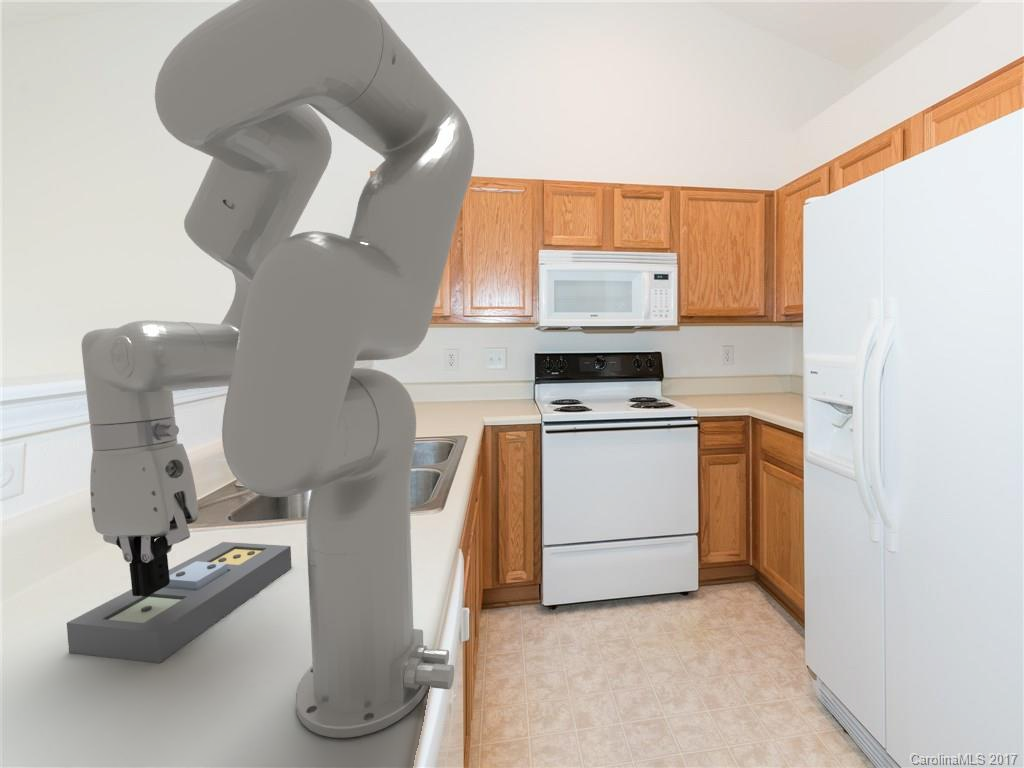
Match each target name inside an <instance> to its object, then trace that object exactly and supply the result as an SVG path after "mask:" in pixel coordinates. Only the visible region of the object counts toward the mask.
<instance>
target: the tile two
mask: <svg viewBox="0 0 1024 768" xmlns="http://www.w3.org/2000/svg"><path fill="white" fill-rule="evenodd" d="M227 572H228V564H227V563H213V562H199V561H196V562H194V563H192V564H190V565H188V566H186V567H185V568H183V569H181V570H179V571H177V572H175V573H173V574H171V575H169V578H170V583H169V584H168V585H167V586H165V587H164V588H173V589H185V590H199V589H200V588H202V587H204V586H205V585H207V584H209V583H210V582H212V581H214V580H215V579H217V578H218V577H220V576H222V575H223V574H225V573H227Z"/></svg>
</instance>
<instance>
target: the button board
mask: <svg viewBox="0 0 1024 768" xmlns="http://www.w3.org/2000/svg"><path fill="white" fill-rule="evenodd" d="M291 547H292V546H291V545H280V544H279V545H278V544H265V543H263V544H262V543H250V542H249V543H248V542H247V543H246V542H232V541H231V542H230V541H229V542H228V541H221V542H219V543H218V544H217V545H214V546H212V547H211V548H208V549H206V550H205V551H203V552H200V553H199V554H197V555H195V556H193V557H191V558H189V559H188V560H185V561H184V562H182V563H180V564H178V565H176V566H173V567H172V568H170V569H169V575H171V574H173V573H175V572H177V571H179V570H181V569H183V568H185V567H186V566H188V565H190V564H192V563H194V562H196V561H199V562H213V561H215V560H216V559H218V558H220V557H222V556H224V555H225V554H227V553H229V552H231V551H233V550H234V549H242V550H258V551H261V552H260V553H258V554H256V555H255V556H253V557H251V558H250V559H248V560H246V561H245V562H243V563H242V564H240V565H233V564H228V572H227V573H225V574H223V575H222V576H220V577H218V578H217V579H215V580H214V581H212V582H210V583H209V584H207V585H205V586H204V587H202V588H200V589H199V590H185V589H173V588H162V589H160V590H158V591H156V592H154V593H153V594H151V595H149V596H147V597H144V596H133V594H132V588H131V589H129V590H128V591H125V592H124V593H121V594H119V595H118V596H116V597H113V598H112V599H110V600H108V601H106V602H104V603H102V604H100V605H98V606H96V607H94V608H92V609H91V610H89V611H87V612H85V613H83V614H81V615H79V616H77V617H75V618H73V619H71V620H69V621H67V622H66V632H67V644H68V645H67V646H68V653H71V654H77V655H78V654H79V655H87V656H95V657H104V658H105V657H106V658H112V659H120V660H121V659H122V660H131V661H139V662H145V663H146V662H148V663H156V664H162V662H164V661H165V660H167V659H168V658H169V657H171V656H172V655H174V654H175V653H176V652H178V651H179V650H180V649H182V648H183V647H185V646H186V645H187V644H188V643H190V642H191V641H193V640H195V639H196V638H197V637H198V636H200V635H201V634H202V633H204V632H205V631H207V630H208V629H209V628H211V627H213V625H215V624H216V623H217V622H219V621H220V620H222V619H223V618H224V617H227V615H229V614H230V613H231V612H233V611H234V610H235V609H237V608H238V607H240V606H241V605H242V604H244V603H245V602H246V601H248V600H249V599H251V598H252V597H253V596H254V595H256V594H257V593H259V592H260V591H261V590H263V589H264V588H265V587H267V586H269V585H270V584H271V583H273V582H274V581H275V580H277V579H278V578H280V577H281V576H282V575H284V574H286V572H288V571H289V570H291V569H292V568H293V567H292V565H293V564H292V551H291V550H292V548H291ZM148 597H156V598H168V599H180V600H181V601H179V602H177V603H176V604H174V605H172V606H171V607H169V608H167V609H166V610H164V611H162V612H161V613H159V614H158V615H156V616H154V617H153V618H151V619H149V620H148V621H146V622H144V623H138V622H128V621H118V620H108V619H110V618H112V617H114V616H115V615H117V614H119V613H121V612H123V611H124V610H126V609H128V608H130V607H132V606H133V605H135V604H137V603H139V602H141V601H142V600H144V599H146V598H148Z"/></svg>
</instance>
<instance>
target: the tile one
mask: <svg viewBox="0 0 1024 768" xmlns="http://www.w3.org/2000/svg"><path fill="white" fill-rule="evenodd" d="M179 601H181V600H180V599H168V598H156V597H148V598H146V599H144V600H142V601H141V602H139V603H137V604H135V605H133V606H132V607H130V608H128V609H126V610H124V611H123V612H121V613H119V614H117V615H115V616H114V617H112V618H110V619H108V620H118V621H128V622H138V623H144V622H146V621H148V620H149V619H151V618H153V617H154V616H156V615H158V614H159V613H161V612H162V611H164V610H166V609H167V608H169V607H171V606H172V605H174V604H176V603H177V602H179Z"/></svg>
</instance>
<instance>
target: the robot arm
mask: <svg viewBox="0 0 1024 768" xmlns="http://www.w3.org/2000/svg"><path fill="white" fill-rule="evenodd" d="M154 102H155V109H156V112H157V115H158V118H159V120H160V122H161V124H162V125H163V128H165V130H166V131H167V132H168V133H169V134H170V135H171V136H172V137H173V138H174V139H176V140H177V141H179V142H180V143H182V144H184V145H186V146H188V147H190V148H192V149H194V150H197V151H199V152H201V153H203V154H206V155H208V156H210V157H213V158H212V159H211V162H210V164H209V166H208V168H207V171H205V175H204V177H203V178H202V182H201V183H200V186H199V188H198V190H197V192H196V194H195V196H194V197H193V199H192V202H191V205H190V207H189V209H188V211H187V212H186V214H185V216H184V220H183V227H184V231H185V233H186V234H187V236H188V238H189V239H190V240H191V241H192V242H193V243H194V244H195V246H196V247H198V248H199V249H201V250H202V252H204V253H205V254H207V255H208V256H209V257H210V258H212V259H213V260H214V261H216V262H218V263H219V264H221V265H222V266H224V267H225V268H227V269H228V270H230V271H231V272H232V275H233V276H234V277H233V278H234V282H235V291H234V296H233V300H232V302H231V304H230V307H229V309H228V311H227V312H226V314H225V316H224V318H223V319H222V321H221V323H203V322H193V321H192V322H191V321H190V322H189V321H167V320H165V321H164V320H137V321H132V322H128V323H126V324H123V325H121V326H119V327H114V328H110V327H109V328H100V329H94V330H91V331H88V332H87V333H85V335H83V338H82V340H81V355H82V364H83V365H82V366H83V373H84V383H85V391H86V402H87V411H88V419H89V429H90V437H91V446H92V455H91V456H92V457H91V462H90V463H91V464H90V476H89V477H90V478H89V479H90V481H89V482H90V483H89V484H90V485H89V487H90V488H89V491H90V493H89V494H90V508H91V509H90V510H91V517H92V523H93V526H94V529H95V531H96V532H97V533H99V534H100V535H102V539H103V541H104V542H105V543H109V544H112V545H116V546H117V547H118V548H119V549H120V550H121V551H122V556H123V560H124V561H125V562H126V563H129V565H128V566H129V573H130V582H131V583H130V584H131V589H132V594H133V596H144V597H147V596H149V595H151V594H153V593H154V592H156V591H158V590H160V589H162V588H164V587H165V586H167V585H168V584H169V583H170V578H169V570H170V569H169V559H168V554H169V553H171V551H172V547H173V545H175V544H179V543H181V542H183V541H185V540H188V539H189V538H191V532H190V528H189V526H188V525H190V524H193V523H195V522H197V520H198V519H199V505H198V497H197V490H196V484H195V481H194V480H195V479H194V475H193V470H192V467H191V463H190V459H189V456H188V454H187V451H186V448H185V447H184V446H185V445H184V444H183V443H178V434H180V427H179V426H178V425H176V423H177V422H176V417H175V415H176V414H175V404H174V395H173V392H177V391H186V390H196V389H206V388H219V387H227V393H226V397H225V398H226V399H225V404H224V407H223V409H224V410H223V415H222V427H221V434H222V435H221V437H222V438H221V439H222V448H223V453H224V457H225V460H226V463H227V465H228V467H229V470H230V471H231V473H232V475H233V477H234V478H236V480H237V482H239V483H240V484H241V485H242V486H243V487H244V488H245V489H247V490H249V491H251V492H252V493H254V494H257V495H260V496H264V497H270V498H285V497H286V498H287V497H292V496H296V495H300V494H303V493H306V492H309V491H310V496H309V499H308V505H307V512H306V525H305V526H306V527H305V529H306V552H307V553H306V554H307V556H306V558H307V572H308V573H307V575H308V596H309V598H308V599H309V614H310V615H309V617H310V618H309V619H310V620H309V621H310V637H311V660H312V665H311V666H310V667H309V668H308V670H307V671H306V672H304V674H303V676H302V677H301V679H300V682H299V684H298V686H297V689H296V692H295V707H296V708H295V709H296V714H297V715H296V716H297V717H298V718H299V720H300V722H301V724H303V726H304V727H306V728H307V729H308V730H310V731H311V732H313V733H315V734H317V735H320V736H325V737H329V738H338V739H339V738H340V739H341V738H342V739H346V738H355V737H362V736H365V735H368V734H373V733H375V732H378V731H381V730H383V729H386V728H388V727H389V726H391V725H393V724H394V723H396V722H398V721H400V720H401V719H403V718H404V717H405V716H407V714H410V712H412V710H413V709H414V708H415V707H416V706H417V705H418V704H420V702H421V700H422V699H423V698H424V696H425V694H426V693H427V690H428V688H429V687H430V688H431V689H432V688H434V689H443V690H451V688H452V686H453V683H454V677H455V666H454V665H453V664H449V660H450V650H448V649H439V648H436V649H431V648H428V646H427V645H424V630H423V629H419V628H417V629H416V628H414V605H413V604H414V603H413V600H414V599H413V598H414V597H413V574H412V573H413V571H412V570H413V569H412V568H413V567H412V544H411V543H412V539H411V537H412V536H411V526H412V525H411V480H412V479H411V478H412V477H411V475H412V466H413V465H412V464H413V457H414V451H415V444H416V436H417V414H416V409H415V406H414V402H413V399H412V397H411V395H410V393H409V392H408V389H407V388H406V387H405V386H404V385H403V383H401V382H400V381H399V380H398V379H397V378H396V377H394V376H392V375H391V374H388V373H386V372H384V371H382V370H381V371H380V370H377V369H372V368H363V367H355V365H356V362H358V361H360V362H361V361H362V362H363V361H383V360H385V361H386V360H393V359H397V358H402V357H406V356H408V355H409V354H412V353H413V352H415V351H416V350H417V349H418V348H419V347H420V345H422V343H423V341H424V340H425V338H426V336H427V333H428V331H429V327H430V325H431V321H432V317H433V315H434V310H435V306H436V302H437V298H438V294H439V291H440V288H441V283H442V280H443V276H444V273H445V269H446V265H447V262H448V258H449V255H450V251H451V246H452V243H453V237H454V234H455V230H456V227H457V222H458V219H459V216H460V213H461V210H462V206H463V203H464V200H465V197H466V194H467V191H468V189H469V184H470V181H471V177H472V174H473V170H474V162H475V161H474V160H475V144H474V137H473V133H472V130H471V128H470V125H469V122H468V120H467V118H466V117H465V114H464V113H463V111H462V110H461V109H460V107H459V106H458V105H457V104H456V103H455V101H454V100H453V99H452V97H451V96H449V94H448V93H447V92H446V91H445V90H444V88H442V86H440V84H439V83H438V82H437V81H436V80H435V78H434V77H433V76H432V75H431V74H430V73H429V72H428V70H427V69H426V68H425V66H424V65H423V64H422V62H421V61H419V59H418V58H417V56H415V54H414V53H413V52H412V50H411V49H410V48H409V47H408V46H407V44H405V42H404V41H403V39H401V38H400V36H399V35H398V34H397V32H395V30H394V29H393V28H392V27H391V25H390V24H389V23H388V21H387V20H386V19H385V18H384V17H383V15H382V14H381V13H380V11H379V10H378V9H377V8H376V6H375V5H374V4H373V3H372V2H371V0H237V1H236V2H233V3H232V4H230V5H229V6H227V7H225V8H223V9H222V10H220V11H218V12H217V13H215V14H214V15H212V16H210V17H209V18H208V19H206V20H205V21H203V22H202V23H200V24H199V25H198V26H196V28H194V29H193V30H191V31H190V32H189V33H188V34H186V36H184V37H183V38H182V39H181V40H180V41H179V42H178V43H177V44H176V46H174V48H173V49H171V52H170V53H168V56H167V57H166V58H165V60H164V62H163V64H162V66H161V68H160V69H159V72H158V75H157V78H156V81H155V86H154ZM313 108H314V109H315V110H316V111H317V112H319V113H320V114H322V115H323V116H324V117H326V119H328V120H330V121H331V122H333V123H334V124H336V125H337V127H340V128H341V129H342V130H344V131H345V132H347V133H348V134H350V135H351V136H353V137H354V138H356V139H357V140H358V141H359V142H361V143H362V144H364V145H365V146H367V147H369V148H370V149H371V150H373V151H374V152H375V153H377V154H379V155H381V157H383V159H384V161H382V162H381V163H380V165H379V166H377V168H375V170H374V171H373V172H372V173H371V175H370V176H369V178H368V179H367V180H366V183H365V185H364V187H363V189H362V191H361V192H360V193H361V194H360V196H359V198H358V202H357V206H356V211H355V212H356V213H355V217H354V221H353V225H352V228H351V230H350V234H349V237H345V236H342V235H339V234H336V233H332V232H327V231H326V232H325V231H314V230H313V231H304V232H300V233H297V234H293V232H294V230H295V228H296V226H297V224H298V222H299V221H300V220H301V219H300V218H301V217H302V215H303V213H304V212H305V210H306V207H307V206H308V203H309V202H310V199H311V198H312V196H313V194H314V192H315V191H316V188H317V187H318V185H319V183H320V181H321V179H322V177H323V175H324V173H325V171H326V170H327V167H328V165H329V161H330V159H331V156H332V150H333V149H332V148H333V147H332V146H333V145H332V144H333V143H332V137H331V134H330V132H329V130H328V127H327V125H326V124H325V122H324V121H323V119H322V118H321V116H319V114H318V113H317V112H316V111H315V110H314V109H313Z"/></svg>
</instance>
